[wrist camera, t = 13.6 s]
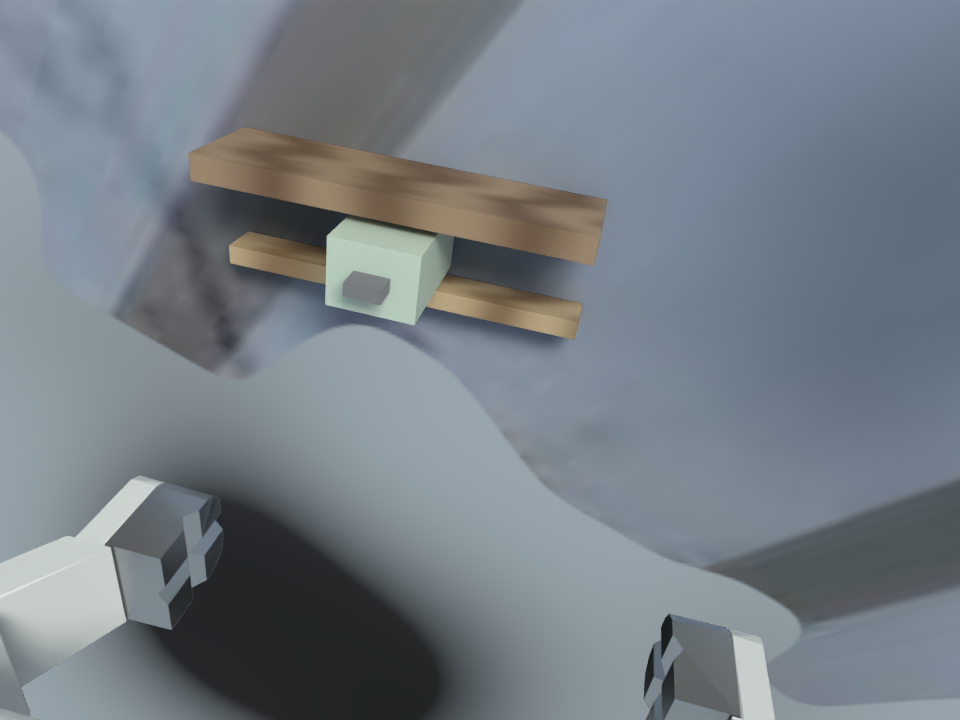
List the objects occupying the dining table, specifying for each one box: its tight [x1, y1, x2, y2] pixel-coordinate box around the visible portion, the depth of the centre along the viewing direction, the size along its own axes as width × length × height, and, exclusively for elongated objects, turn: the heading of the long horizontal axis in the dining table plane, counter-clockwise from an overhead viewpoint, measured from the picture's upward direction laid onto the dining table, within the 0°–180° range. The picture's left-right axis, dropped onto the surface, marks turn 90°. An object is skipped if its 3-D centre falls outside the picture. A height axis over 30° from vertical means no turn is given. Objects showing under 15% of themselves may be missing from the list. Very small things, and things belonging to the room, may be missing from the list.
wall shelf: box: [188, 127, 607, 340], centre depth 41 cm, size 22×8×6 cm, turn 82°
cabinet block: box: [325, 214, 455, 325], centre depth 39 cm, size 5×4×10 cm
